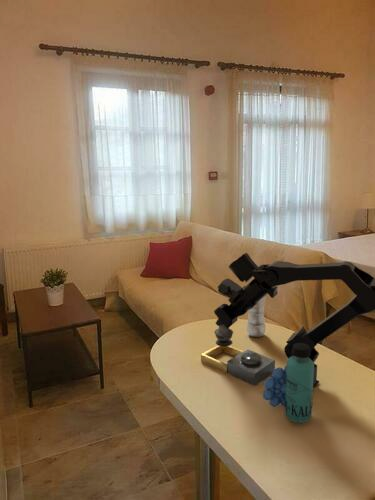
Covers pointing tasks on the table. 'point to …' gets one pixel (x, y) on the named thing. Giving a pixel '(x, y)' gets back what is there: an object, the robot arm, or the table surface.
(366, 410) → the table surface
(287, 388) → the beverage bottle
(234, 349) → the two-tone flat frame block
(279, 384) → the grapes
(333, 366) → the table surface
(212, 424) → the table surface
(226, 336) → the dark grey tall piece
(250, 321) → the plastic bottle
